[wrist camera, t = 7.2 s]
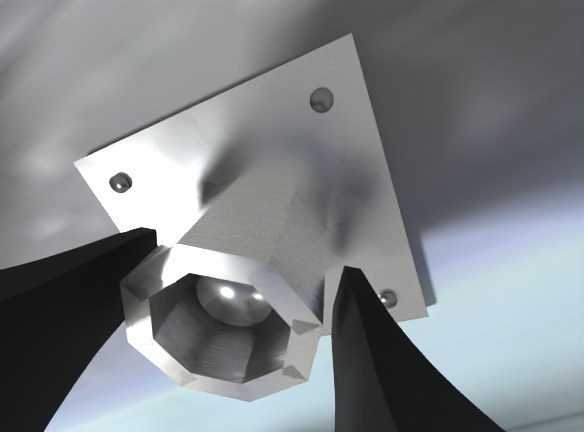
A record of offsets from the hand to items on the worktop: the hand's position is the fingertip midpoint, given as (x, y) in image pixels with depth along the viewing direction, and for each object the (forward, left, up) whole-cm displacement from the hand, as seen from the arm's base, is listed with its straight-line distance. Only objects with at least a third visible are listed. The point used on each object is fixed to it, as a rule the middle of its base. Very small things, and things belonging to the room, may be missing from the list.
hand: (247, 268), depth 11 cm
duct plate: (0, 0, -2) cm, 2 cm away
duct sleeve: (0, 0, -2) cm, 2 cm away
